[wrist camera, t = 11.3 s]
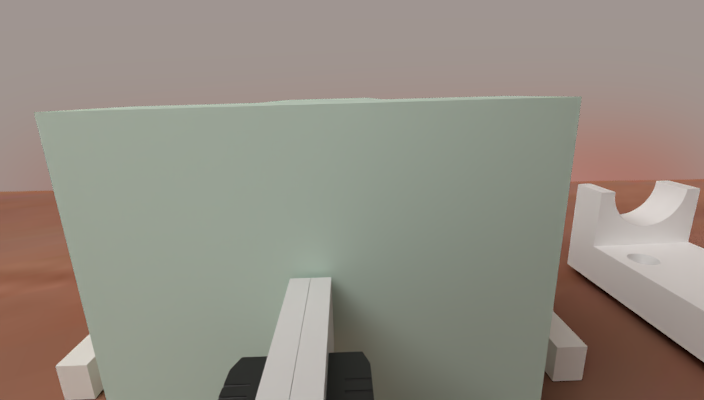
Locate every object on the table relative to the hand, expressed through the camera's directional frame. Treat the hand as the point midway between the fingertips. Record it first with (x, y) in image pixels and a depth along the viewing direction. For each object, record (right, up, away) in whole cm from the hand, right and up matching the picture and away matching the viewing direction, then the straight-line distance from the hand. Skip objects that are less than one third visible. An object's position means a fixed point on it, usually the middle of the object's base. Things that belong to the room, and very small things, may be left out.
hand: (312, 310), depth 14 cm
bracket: (+23, -4, +10) cm, 25 cm away
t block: (0, -4, +10) cm, 11 cm away
